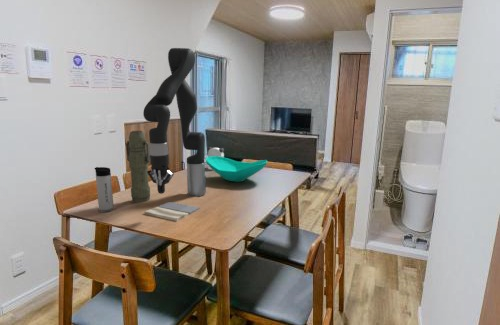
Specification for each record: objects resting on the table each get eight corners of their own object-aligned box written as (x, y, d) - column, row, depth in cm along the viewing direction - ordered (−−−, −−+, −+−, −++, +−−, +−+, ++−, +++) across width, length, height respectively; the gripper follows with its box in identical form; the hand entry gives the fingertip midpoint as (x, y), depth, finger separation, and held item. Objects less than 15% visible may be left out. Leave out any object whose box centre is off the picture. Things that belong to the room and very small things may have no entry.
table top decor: (273, 178, 212) (273, 157, 209) (258, 189, 186) (259, 166, 184) (217, 172, 225) (216, 153, 223) (196, 182, 200) (196, 161, 197)
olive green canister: (134, 197, 171) (129, 129, 164) (156, 198, 169) (152, 130, 162) (125, 203, 162) (120, 131, 155) (148, 204, 161) (144, 132, 153)
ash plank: (156, 210, 153) (156, 206, 153) (188, 216, 145) (188, 213, 145) (144, 214, 146) (144, 211, 146) (177, 221, 138) (177, 218, 138)
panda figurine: (227, 167, 241) (226, 147, 238) (219, 170, 231) (219, 149, 228) (212, 165, 246) (212, 146, 243) (204, 169, 236) (204, 148, 233)
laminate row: (169, 204, 161) (168, 201, 160) (199, 210, 153) (199, 207, 153) (158, 209, 154) (158, 206, 154) (190, 215, 146) (189, 212, 146)
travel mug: (102, 207, 156) (98, 166, 152) (116, 207, 156) (112, 166, 152) (95, 212, 150) (91, 169, 146) (110, 212, 150) (106, 169, 146)
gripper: (177, 153, 138) (179, 192, 142) (153, 150, 144) (155, 188, 148) (165, 156, 132) (167, 197, 135) (140, 153, 137) (143, 193, 141)
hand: (161, 193), depth 141 cm, fingers closed
